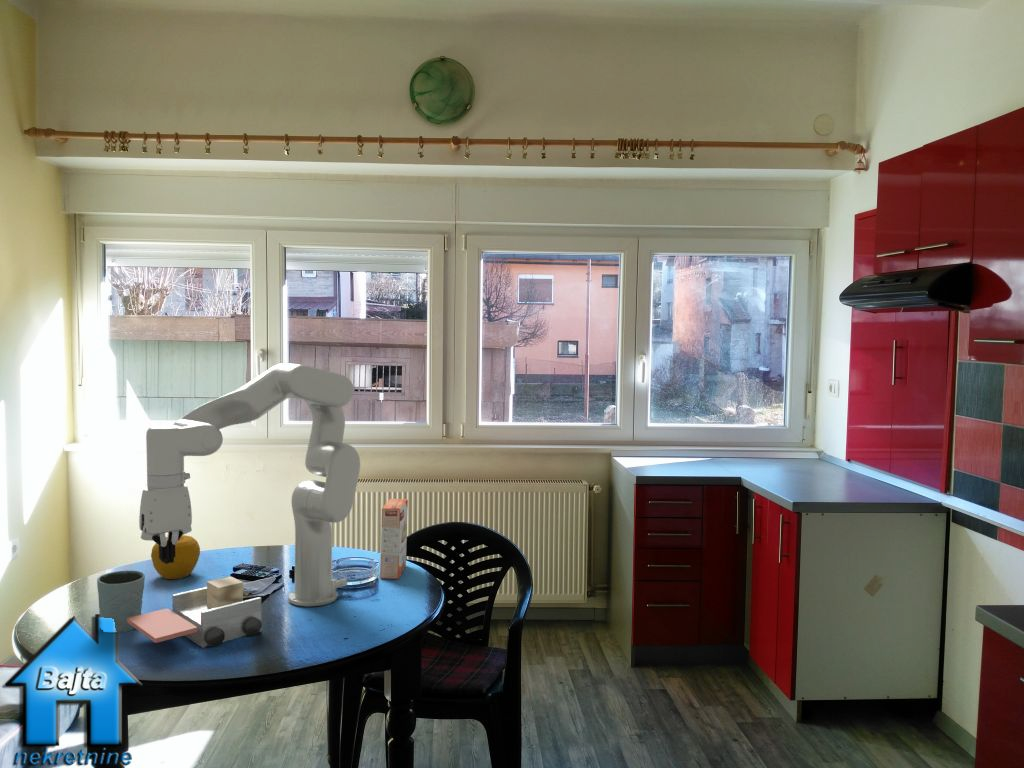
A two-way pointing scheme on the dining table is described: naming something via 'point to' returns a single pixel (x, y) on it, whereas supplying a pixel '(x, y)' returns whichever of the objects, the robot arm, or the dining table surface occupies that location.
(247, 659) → the dining table surface
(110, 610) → the grey round bin
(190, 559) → the apple
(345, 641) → the dining table surface
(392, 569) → the cracker box
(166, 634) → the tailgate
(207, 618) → the cart
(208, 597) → the box
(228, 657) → the dining table surface
